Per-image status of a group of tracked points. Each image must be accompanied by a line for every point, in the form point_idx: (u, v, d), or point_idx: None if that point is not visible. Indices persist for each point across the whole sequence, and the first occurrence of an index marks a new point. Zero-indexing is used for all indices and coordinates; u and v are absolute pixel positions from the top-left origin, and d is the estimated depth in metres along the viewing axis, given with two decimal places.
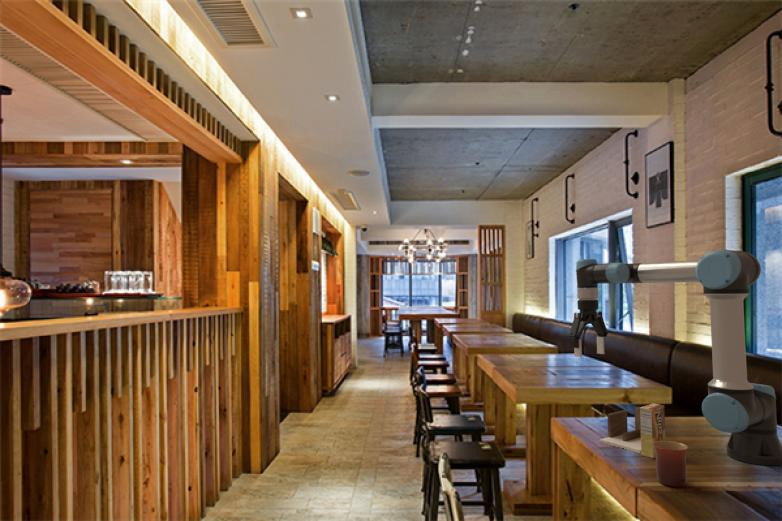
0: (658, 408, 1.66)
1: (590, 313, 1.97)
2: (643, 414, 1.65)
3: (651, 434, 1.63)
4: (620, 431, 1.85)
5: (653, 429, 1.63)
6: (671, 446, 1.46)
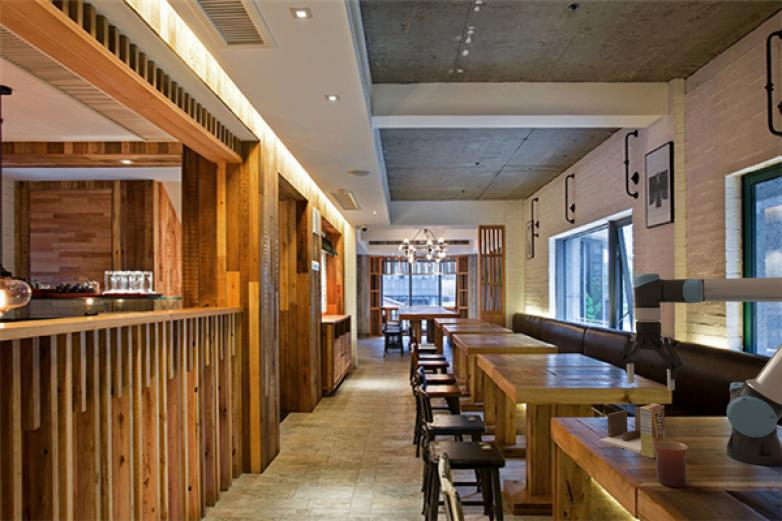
0: (658, 408, 1.66)
1: (646, 337, 1.68)
2: (643, 414, 1.65)
3: (651, 434, 1.63)
4: (620, 431, 1.85)
5: (653, 429, 1.63)
6: (671, 446, 1.46)
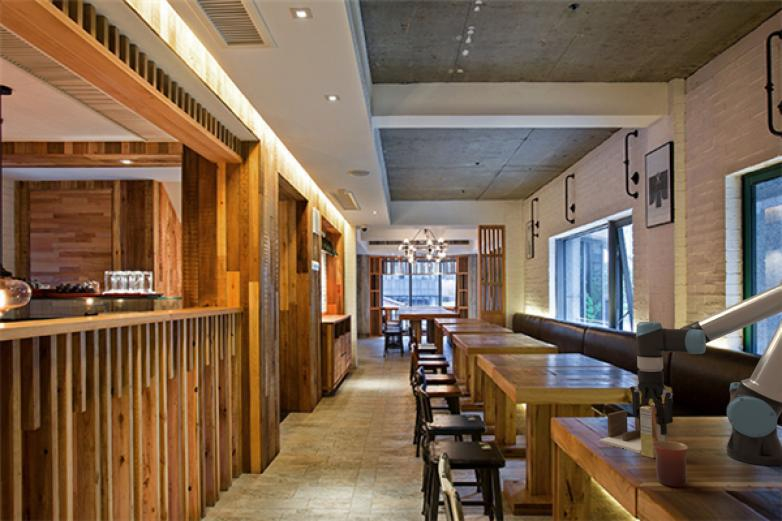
0: None
1: (648, 386, 1.67)
2: (643, 414, 1.65)
3: (651, 434, 1.63)
4: (620, 431, 1.85)
5: (653, 428, 1.63)
6: (671, 446, 1.46)
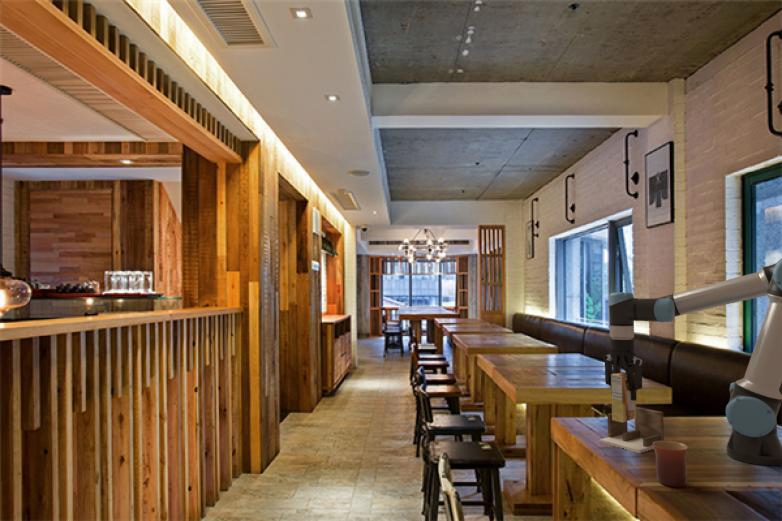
0: None
1: (620, 354, 1.73)
2: (614, 381, 1.71)
3: (621, 399, 1.69)
4: (620, 431, 1.85)
5: (623, 394, 1.69)
6: (671, 446, 1.46)
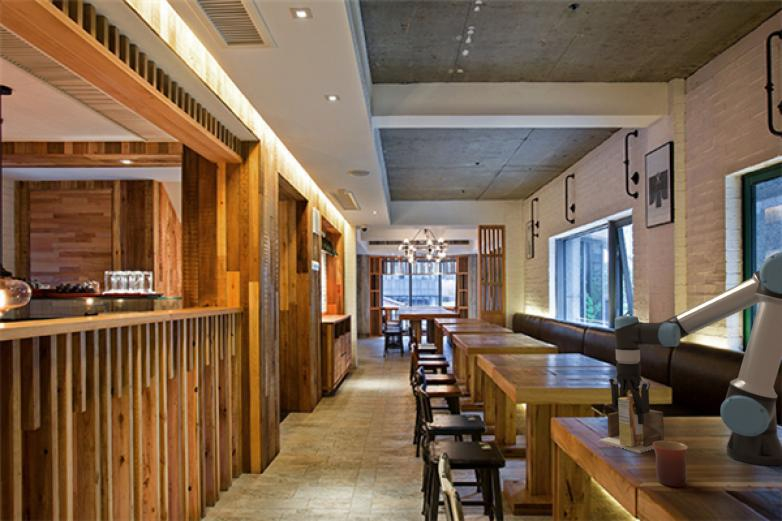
0: None
1: (626, 378, 1.74)
2: (621, 405, 1.72)
3: (629, 423, 1.70)
4: None
5: (630, 418, 1.70)
6: (671, 446, 1.46)
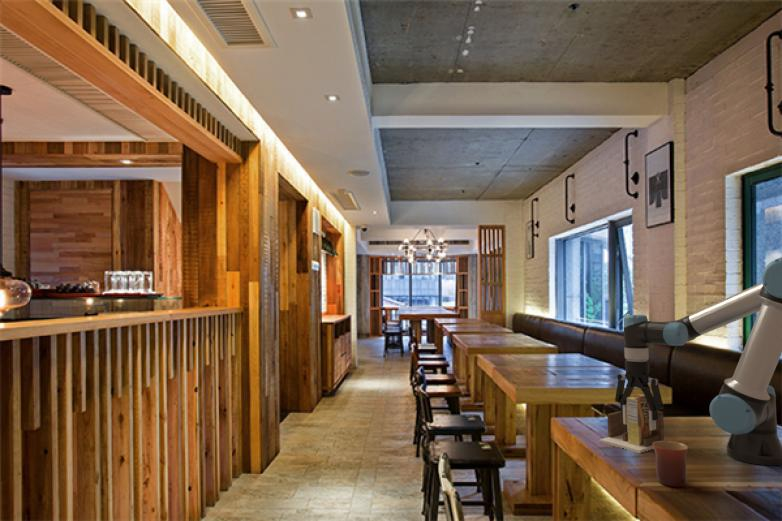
0: (644, 398, 1.76)
1: (635, 375, 1.77)
2: (630, 404, 1.75)
3: (637, 423, 1.73)
4: (620, 431, 1.85)
5: (639, 417, 1.73)
6: (671, 446, 1.46)
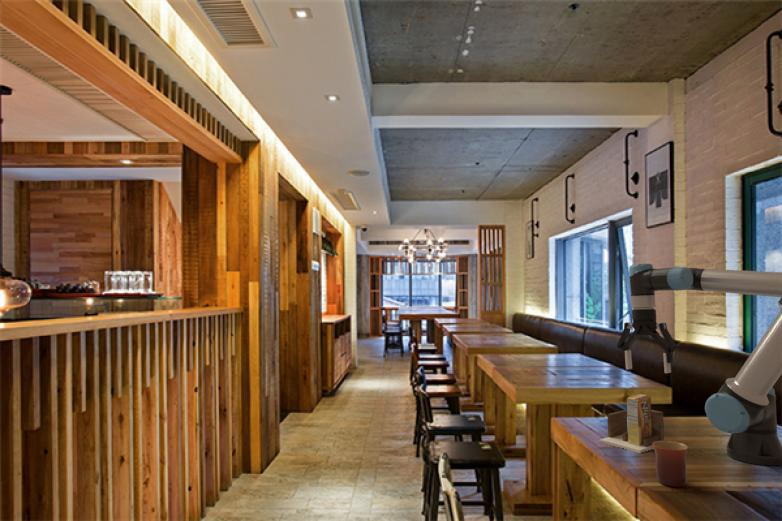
0: (644, 398, 1.76)
1: (642, 324, 1.78)
2: (630, 404, 1.75)
3: (637, 423, 1.73)
4: (620, 431, 1.85)
5: (639, 418, 1.73)
6: (671, 446, 1.46)
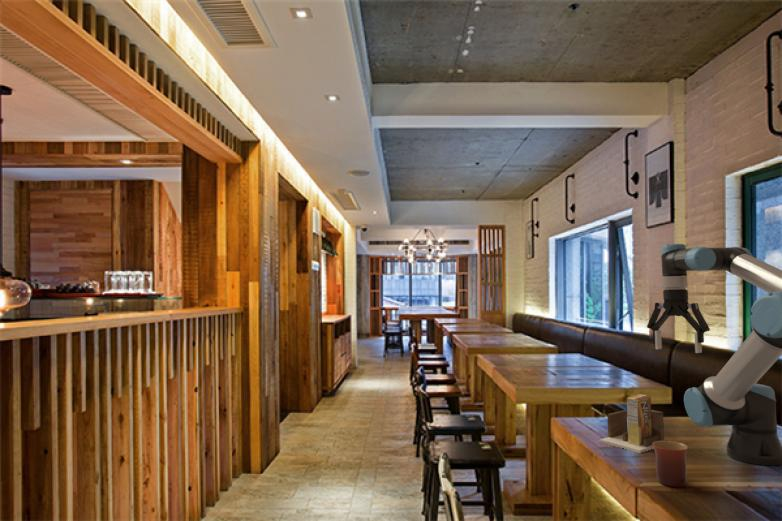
0: (644, 398, 1.76)
1: (673, 304, 1.78)
2: (630, 404, 1.75)
3: (637, 423, 1.73)
4: (620, 431, 1.85)
5: (639, 418, 1.73)
6: (671, 446, 1.46)
